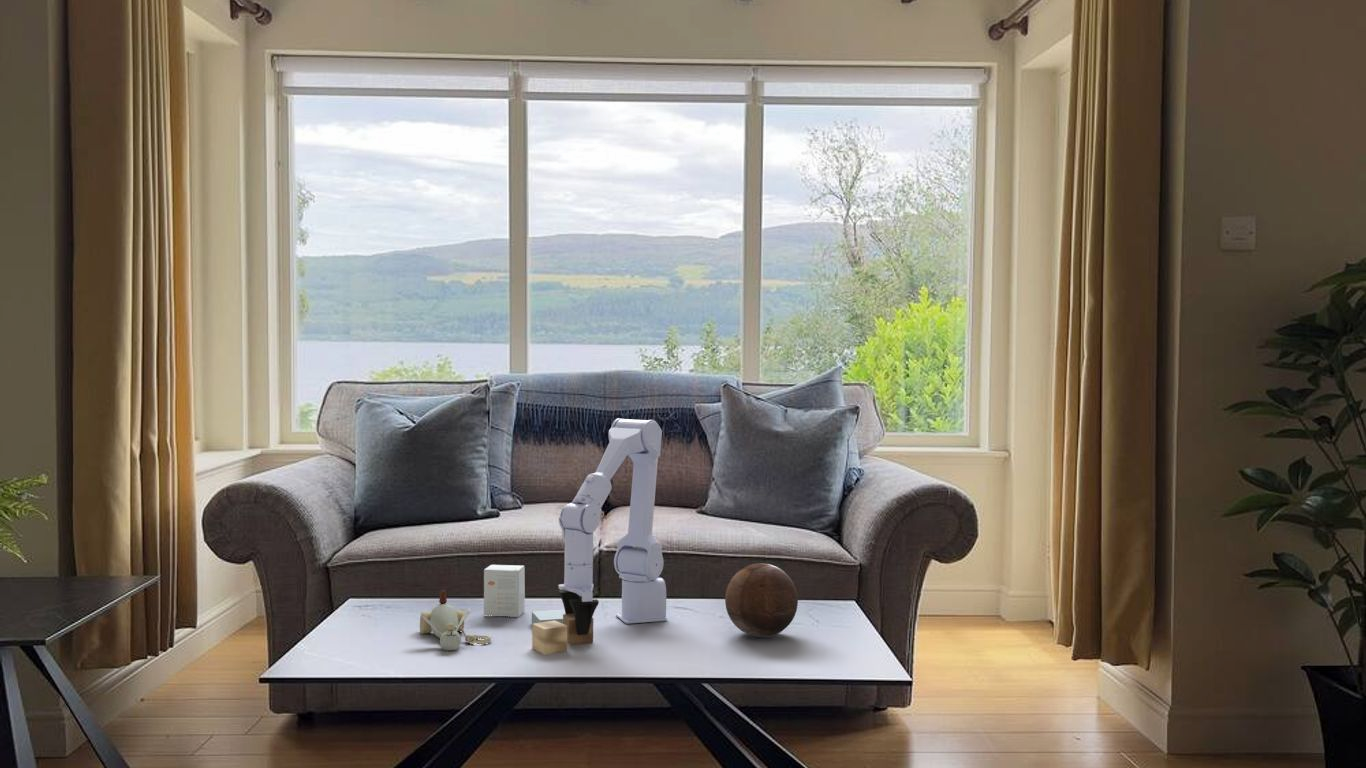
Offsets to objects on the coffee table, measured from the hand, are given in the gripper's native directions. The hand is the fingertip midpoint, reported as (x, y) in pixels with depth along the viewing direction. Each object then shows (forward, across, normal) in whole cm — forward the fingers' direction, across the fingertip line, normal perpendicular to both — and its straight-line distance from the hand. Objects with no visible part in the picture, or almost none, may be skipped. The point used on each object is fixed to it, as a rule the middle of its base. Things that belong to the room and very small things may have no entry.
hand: (577, 629), depth 214 cm
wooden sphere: (+2, +8, +37) cm, 38 cm away
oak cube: (+2, +5, -7) cm, 9 cm away
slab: (+2, -12, -2) cm, 12 cm away
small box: (+2, -26, -10) cm, 28 cm away
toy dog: (+3, -9, -25) cm, 26 cm away
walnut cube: (+2, 0, 0) cm, 2 cm away
